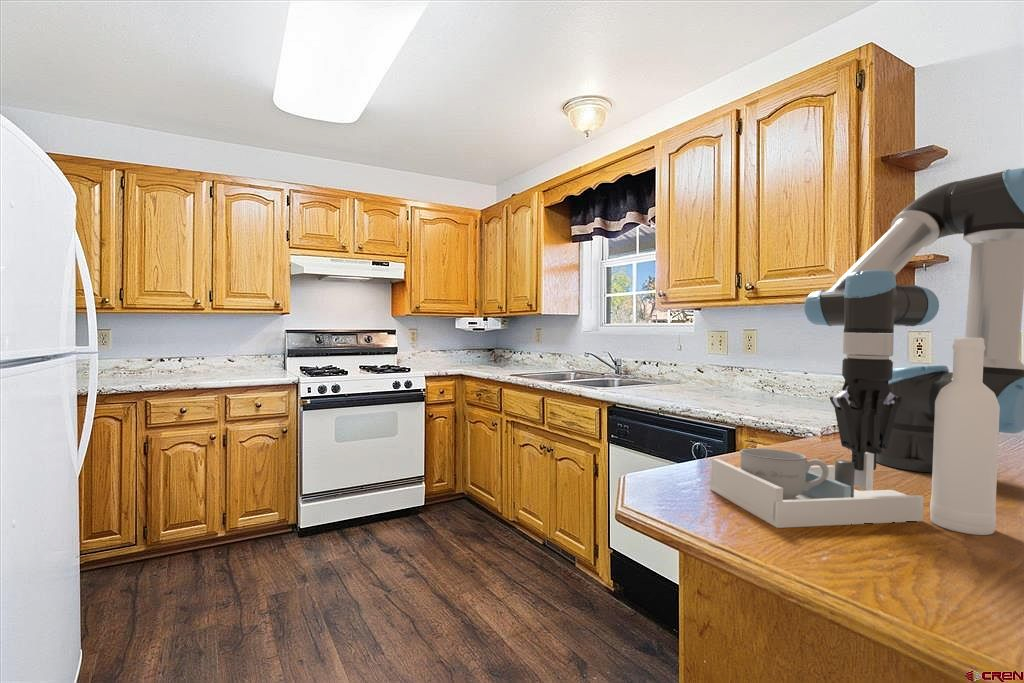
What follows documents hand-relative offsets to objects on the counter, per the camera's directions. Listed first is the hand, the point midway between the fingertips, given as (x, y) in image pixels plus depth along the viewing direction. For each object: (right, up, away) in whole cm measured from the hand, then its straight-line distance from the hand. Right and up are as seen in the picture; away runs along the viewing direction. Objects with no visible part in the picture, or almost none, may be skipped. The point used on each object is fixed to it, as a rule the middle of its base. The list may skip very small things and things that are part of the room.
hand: (863, 487), depth 96 cm
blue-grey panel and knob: (-6, -1, -1) cm, 6 cm away
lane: (-7, -2, -1) cm, 8 cm away
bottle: (+8, -3, -11) cm, 14 cm away
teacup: (-16, -2, -2) cm, 16 cm away
